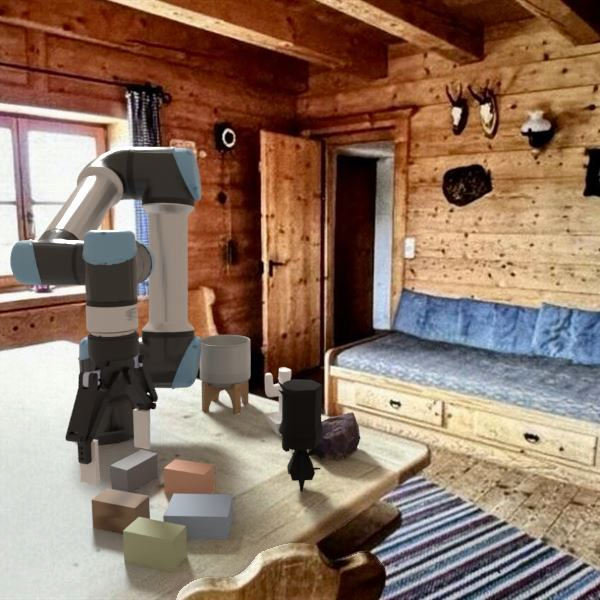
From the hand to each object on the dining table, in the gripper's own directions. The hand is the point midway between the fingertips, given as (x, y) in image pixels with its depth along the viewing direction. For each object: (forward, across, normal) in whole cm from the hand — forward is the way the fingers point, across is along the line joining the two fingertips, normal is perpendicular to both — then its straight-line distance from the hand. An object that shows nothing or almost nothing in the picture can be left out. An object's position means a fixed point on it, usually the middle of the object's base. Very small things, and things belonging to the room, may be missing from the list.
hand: (118, 463), depth 90 cm
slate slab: (+11, +4, -12) cm, 17 cm away
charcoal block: (+11, +14, +6) cm, 18 cm away
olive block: (+11, -6, -10) cm, 16 cm away
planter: (+10, +58, +8) cm, 59 cm away
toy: (+11, +22, -24) cm, 34 cm away
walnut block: (+11, 0, 0) cm, 11 cm away
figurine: (+10, +46, -12) cm, 49 cm away
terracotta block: (+11, +14, -5) cm, 18 cm away
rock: (+11, +38, -27) cm, 47 cm away
